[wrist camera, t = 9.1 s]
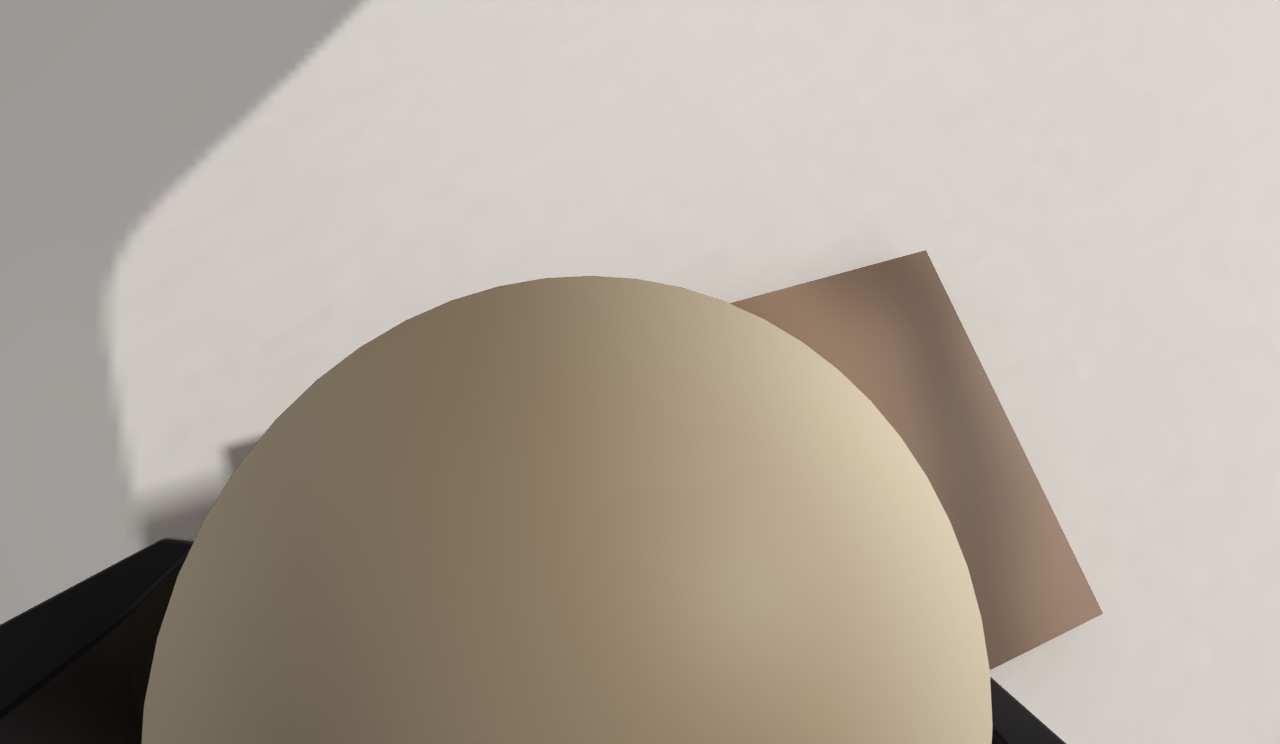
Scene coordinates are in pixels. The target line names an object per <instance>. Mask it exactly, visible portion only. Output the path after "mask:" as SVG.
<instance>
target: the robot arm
mask: <svg viewBox="0 0 1280 744" xmlns="http://www.w3.org/2000/svg"><path fill="white" fill-rule="evenodd" d="M194 541H195V540H191V539H183V538H175V537H169V538H164V539H162V540H159V541H157V542H155V543H153V544H152V545H150V546H148V547H146V548H144V549H142V550H140V551H138V552H137V553H135V554H133V555H131V556H129V557H127V558H125V559H124V560H121V561H120V562H118V563H116V564H114V565H112V566H110V567H108V568H107V569H105V570H103V571H101V572H99V573H97V574H95V575H93V576H91V577H89V578H88V579H86V580H84V581H82V582H80V583H78V584H76V585H75V586H73V587H71V588H69V589H67V590H65V591H63V592H61V593H59V594H57V595H56V596H54V597H52V598H50V599H48V600H46V601H44V602H43V603H41V604H39V605H37V606H35V607H33V608H31V609H29V610H28V611H26V612H24V613H22V614H20V615H18V616H16V617H14V618H12V619H10V620H8V621H7V622H5V623H3V624H1V625H0V744H141V743H142V728H143V712H144V703H145V697H146V692H147V687H148V682H149V677H150V672H151V667H152V662H153V657H154V652H155V647H156V642H157V637H158V634H159V631H160V628H161V625H162V622H163V619H164V616H165V613H166V610H167V607H168V604H169V601H170V598H171V595H172V592H173V589H174V586H175V583H176V580H177V577H178V574H179V572H180V570H181V568H182V566H183V564H184V562H185V560H186V558H187V556H188V553H189V551H190V549H191V547H192V545H193V543H194ZM990 684H991V704H992V724H993V729H992V744H1066V743H1065V742H1064V741H1062V740H1061V739H1060V738H1059V737H1058V736H1057V735H1056V734H1054V733H1053V732H1052V731H1051V730H1050V729H1049V728H1048V727H1047V726H1045V725H1044V724H1043V723H1042V722H1041V721H1040V720H1039V719H1038V718H1036V717H1035V716H1034V715H1033V714H1032V713H1031V712H1030V711H1028V710H1027V709H1026V708H1025V707H1024V706H1023V705H1022V704H1021V703H1019V702H1018V701H1017V700H1016V699H1015V698H1014V697H1013V696H1011V695H1010V694H1009V693H1008V692H1007V691H1006V690H1005V689H1004V688H1002V687H1001V686H1000V685H999V684H998V683H997V682H996V681H995V680H993V679H992V678H991V677H990Z"/></svg>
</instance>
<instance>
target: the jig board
mask: <svg viewBox="0 0 1280 744" xmlns="http://www.w3.org/2000/svg"><path fill="white" fill-rule="evenodd" d="M730 304H732V305H734V306H736V307H738V308H740V309H743V310H745V311H747V312H749V313H752V314H754V315H756V316H758V317H760V318H763V319H765V320H766V321H768V322H770V323H771V324H773V325H775V326H776V327H778V328H780V329H781V330H783V331H785V332H786V333H788V334H790V335H791V336H793V337H795V338H796V339H798V340H800V341H801V342H803V343H804V344H805V345H807V346H808V347H809V348H811V349H812V350H813V351H815V352H816V353H817V354H819V355H820V356H821V357H822V358H824V359H825V360H826V361H828V362H829V363H830V364H832V365H833V366H834V367H836V368H837V369H838V370H839V371H840V372H841V373H842V374H843V375H844V376H845V377H846V378H847V379H849V380H850V381H851V382H852V383H853V384H854V385H855V386H856V387H857V388H858V389H859V390H860V391H861V392H862V393H863V394H864V395H865V396H866V397H867V398H868V399H869V400H870V401H871V402H872V403H873V404H874V405H875V407H876V408H877V409H878V410H879V411H880V413H881V414H882V415H883V416H884V417H885V419H886V420H887V421H888V422H889V423H890V425H891V426H892V427H893V428H894V429H895V431H896V432H897V433H898V434H899V435H900V437H901V438H902V440H903V441H904V443H905V444H906V446H907V447H908V449H909V450H910V452H911V453H912V455H913V456H914V458H915V459H916V461H917V462H918V464H919V465H920V467H921V468H922V470H923V471H924V473H925V474H926V476H927V477H928V479H929V481H930V483H931V485H932V487H933V489H934V491H935V493H936V495H937V497H938V499H939V501H940V503H941V505H942V507H943V508H944V510H945V512H946V514H947V516H948V518H949V520H950V523H951V525H952V528H953V530H954V533H955V535H956V538H957V541H958V543H959V546H960V548H961V551H962V554H963V556H964V559H965V561H966V564H967V567H968V570H969V573H970V577H971V581H972V585H973V588H974V592H975V596H976V599H977V603H978V607H979V611H980V614H981V618H982V624H983V631H984V637H985V643H986V650H987V656H988V662H989V669H990V670H991V669H993V668H995V667H997V666H999V665H1001V664H1003V663H1005V662H1007V661H1009V660H1011V659H1013V658H1015V657H1017V656H1019V655H1021V654H1023V653H1025V652H1027V651H1029V650H1031V649H1033V648H1035V647H1037V646H1039V645H1041V644H1043V643H1045V642H1047V641H1049V640H1051V639H1053V638H1055V637H1057V636H1059V635H1061V634H1063V633H1065V632H1067V631H1069V630H1071V629H1073V628H1075V627H1077V626H1079V625H1081V624H1083V623H1085V622H1087V621H1089V620H1091V619H1093V618H1095V617H1097V616H1099V615H1101V614H1103V613H1102V611H1101V609H1100V607H1099V605H1098V603H1097V601H1096V598H1095V596H1094V594H1093V592H1092V590H1091V588H1090V586H1089V584H1088V582H1087V580H1086V578H1085V576H1084V574H1083V572H1082V570H1081V568H1080V566H1079V564H1078V562H1077V559H1076V557H1075V555H1074V553H1073V551H1072V549H1071V547H1070V545H1069V543H1068V541H1067V539H1066V537H1065V535H1064V533H1063V531H1062V529H1061V527H1060V525H1059V523H1058V521H1057V518H1056V516H1055V514H1054V512H1053V510H1052V508H1051V506H1050V504H1049V502H1048V500H1047V498H1046V496H1045V494H1044V492H1043V490H1042V488H1041V486H1040V484H1039V482H1038V480H1037V477H1036V475H1035V473H1034V471H1033V469H1032V467H1031V465H1030V463H1029V461H1028V459H1027V457H1026V455H1025V453H1024V451H1023V449H1022V447H1021V445H1020V443H1019V441H1018V438H1017V436H1016V434H1015V432H1014V430H1013V428H1012V426H1011V424H1010V422H1009V420H1008V418H1007V416H1006V414H1005V412H1004V410H1003V408H1002V406H1001V404H1000V402H999V400H998V397H997V395H996V393H995V391H994V389H993V387H992V385H991V383H990V381H989V379H988V377H987V375H986V373H985V371H984V369H983V367H982V365H981V363H980V361H979V359H978V356H977V354H976V352H975V350H974V348H973V346H972V344H971V342H970V340H969V338H968V336H967V334H966V332H965V330H964V328H963V326H962V324H961V322H960V320H959V317H958V315H957V313H956V311H955V309H954V307H953V305H952V303H951V301H950V299H949V297H948V295H947V293H946V291H945V289H944V287H943V285H942V283H941V281H940V279H939V276H938V274H937V272H936V270H935V268H934V266H933V264H932V262H931V260H930V258H929V256H928V254H927V252H926V250H925V251H922V252H918V253H914V254H911V255H907V256H903V257H899V258H896V259H892V260H888V261H885V262H881V263H877V264H874V265H870V266H866V267H863V268H859V269H855V270H852V271H848V272H844V273H840V274H837V275H833V276H829V277H826V278H822V279H818V280H815V281H811V282H807V283H804V284H800V285H796V286H792V287H789V288H785V289H781V290H778V291H774V292H770V293H767V294H763V295H759V296H756V297H752V298H748V299H745V300H741V301H737V302H733V303H730Z"/></svg>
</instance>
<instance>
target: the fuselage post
mask: <svg viewBox="0 0 1280 744" xmlns="http://www.w3.org/2000/svg"><path fill="white" fill-rule="evenodd" d="M992 729H993V724H992V704H991V684H990V669H989V662H988V656H987V650H986V643H985V637H984V631H983V624H982V618H981V614H980V611H979V607H978V603H977V599H976V596H975V592H974V588H973V585H972V581H971V577H970V573H969V570H968V567H967V564H966V561H965V559H964V556H963V554H962V551H961V548H960V546H959V543H958V541H957V538H956V535H955V533H954V530H953V528H952V525H951V523H950V520H949V518H948V516H947V514H946V512H945V510H944V508H943V507H942V505H941V503H940V501H939V499H938V497H937V495H936V493H935V491H934V489H933V487H932V485H931V483H930V481H929V479H928V477H927V476H926V474H925V473H924V471H923V470H922V468H921V467H920V465H919V464H918V462H917V461H916V459H915V458H914V456H913V455H912V453H911V452H910V450H909V449H908V447H907V446H906V444H905V443H904V441H903V440H902V438H901V437H900V435H899V434H898V433H897V432H896V431H895V429H894V428H893V427H892V426H891V425H890V423H889V422H888V421H887V420H886V419H885V417H884V416H883V415H882V414H881V413H880V411H879V410H878V409H877V408H876V407H875V405H874V404H873V403H872V402H871V401H870V400H869V399H868V398H867V397H866V396H865V395H864V394H863V393H862V392H861V391H860V390H859V389H858V388H857V387H856V386H855V385H854V384H853V383H852V382H851V381H850V380H849V379H847V378H846V377H845V376H844V375H843V374H842V373H841V372H840V371H839V370H838V369H837V368H836V367H834V366H833V365H832V364H830V363H829V362H828V361H826V360H825V359H824V358H822V357H821V356H820V355H819V354H817V353H816V352H815V351H813V350H812V349H811V348H809V347H808V346H807V345H805V344H804V343H803V342H801V341H800V340H798V339H796V338H795V337H793V336H791V335H790V334H788V333H786V332H785V331H783V330H781V329H780V328H778V327H776V326H775V325H773V324H771V323H770V322H768V321H766V320H765V319H763V318H760V317H758V316H756V315H754V314H752V313H749V312H747V311H745V310H743V309H740V308H738V307H736V306H734V305H732V304H729V303H727V302H725V301H722V300H719V299H716V298H713V297H710V296H707V295H703V294H700V293H697V292H694V291H691V290H688V289H684V288H681V287H676V286H671V285H666V284H660V283H655V282H650V281H644V280H639V279H629V278H614V277H599V276H582V277H562V278H545V279H539V280H533V281H527V282H522V283H516V284H510V285H504V286H499V287H495V288H492V289H489V290H485V291H482V292H479V293H475V294H472V295H469V296H465V297H462V298H459V299H455V300H452V301H450V302H447V303H445V304H443V305H440V306H438V307H436V308H433V309H431V310H429V311H427V312H424V313H422V314H420V315H417V316H415V317H413V318H411V319H408V320H406V321H404V322H402V323H401V324H399V325H397V326H396V327H394V328H392V329H390V330H389V331H387V332H385V333H384V334H382V335H380V336H379V337H377V338H375V339H373V340H372V341H370V342H368V343H367V344H365V345H363V346H362V347H360V348H359V349H357V350H356V351H355V352H353V353H352V354H351V355H349V356H348V357H347V358H345V359H344V360H343V361H341V362H340V363H339V364H337V365H336V366H335V367H334V368H332V369H331V370H330V371H328V372H327V373H326V374H324V375H323V376H322V377H320V378H319V379H318V380H316V381H315V382H314V383H313V384H312V385H311V386H310V387H309V388H308V389H307V390H306V391H305V392H304V393H303V394H302V395H301V396H300V397H299V398H298V399H297V400H296V401H295V402H294V403H293V404H292V405H291V406H290V407H289V408H287V409H286V410H285V411H284V412H283V413H282V414H281V415H280V416H279V417H278V418H277V419H276V420H275V421H274V423H273V424H272V425H271V426H270V428H269V429H268V430H267V431H266V432H265V434H264V435H263V436H262V437H261V439H260V440H259V441H258V442H257V443H256V445H255V446H254V447H253V448H252V450H251V451H250V452H249V453H248V455H247V456H246V457H245V458H244V459H243V461H242V462H241V463H240V464H239V466H238V467H237V469H236V470H235V472H234V473H233V475H232V477H231V478H230V480H229V481H228V483H227V484H226V486H225V488H224V489H223V491H222V492H221V494H220V496H219V497H218V499H217V500H216V502H215V503H214V505H213V507H212V508H211V510H210V511H209V513H208V515H207V516H206V518H205V520H204V522H203V524H202V526H201V528H200V530H199V532H198V534H197V537H196V539H195V541H194V543H193V545H192V547H191V549H190V551H189V553H188V556H187V558H186V560H185V562H184V564H183V566H182V568H181V570H180V572H179V574H178V577H177V580H176V583H175V586H174V589H173V592H172V595H171V598H170V601H169V604H168V607H167V610H166V613H165V616H164V619H163V622H162V625H161V628H160V631H159V634H158V637H157V642H156V647H155V652H154V657H153V662H152V667H151V672H150V677H149V682H148V687H147V692H146V697H145V703H144V712H143V728H142V743H141V744H992Z"/></svg>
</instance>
